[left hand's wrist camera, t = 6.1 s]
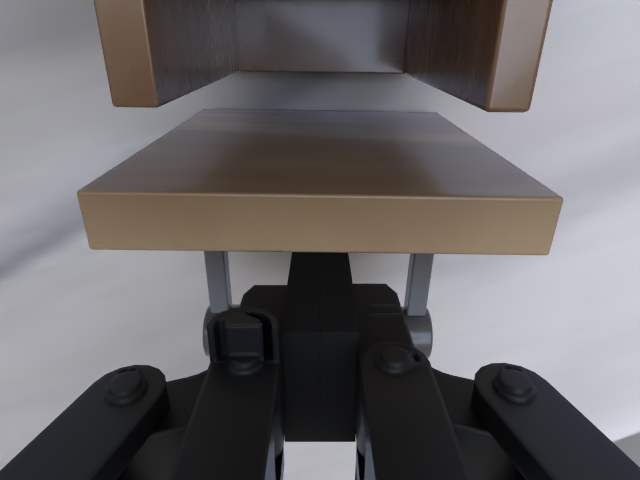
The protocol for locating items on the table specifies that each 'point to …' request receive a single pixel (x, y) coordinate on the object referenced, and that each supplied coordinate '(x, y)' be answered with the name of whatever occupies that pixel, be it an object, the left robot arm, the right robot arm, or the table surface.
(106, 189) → the drawer
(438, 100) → the table surface
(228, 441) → the left robot arm
